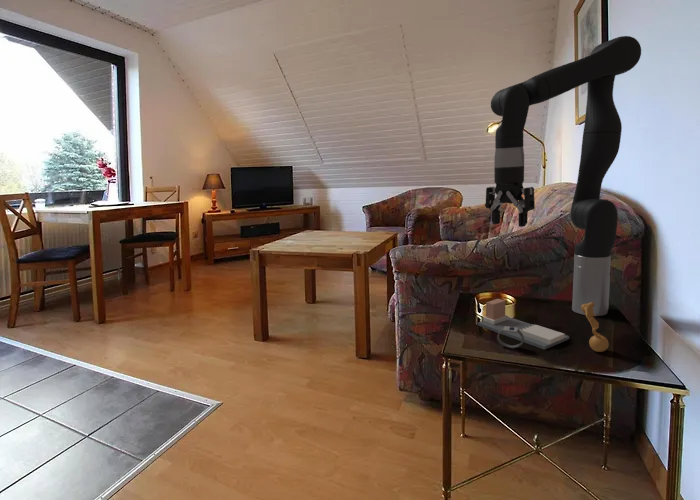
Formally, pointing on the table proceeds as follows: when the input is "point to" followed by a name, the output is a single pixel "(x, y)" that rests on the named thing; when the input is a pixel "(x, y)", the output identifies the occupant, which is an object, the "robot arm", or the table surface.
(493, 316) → the tan rectangular block
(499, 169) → the robot arm
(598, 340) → the figurine
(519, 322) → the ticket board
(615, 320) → the table surface
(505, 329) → the wristwatch
